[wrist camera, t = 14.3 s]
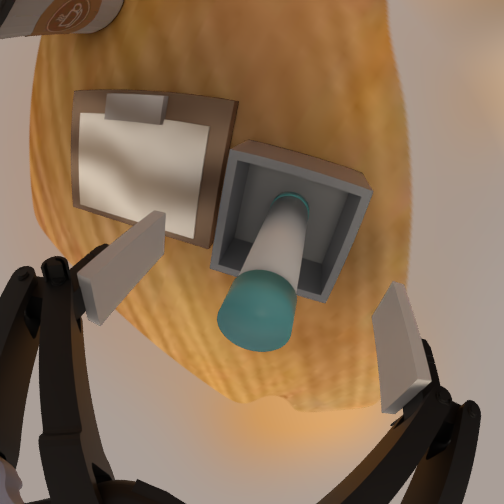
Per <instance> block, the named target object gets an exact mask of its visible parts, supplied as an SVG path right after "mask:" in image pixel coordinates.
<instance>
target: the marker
mask: <svg viewBox="0 0 504 504" xmlns="http://www.w3.org/2000/svg"><path fill="white" fill-rule="evenodd" d="M308 218H309V205H308V203H307V201H306V200H305V198H304V197H302V196H301V195H300V194H298V193H295V192H284V193H281V194H279V195H278V196H277V197H276V198H275V199H274V200H273V202H272V204H271V207H270V210H269V212H268V214H267V216H266V218H265V221H264V223H263V225H262V227H261V229H260V231H259V233H258V235H257V237H256V240H255V242H254V244H253V246H252V248H251V250H250V252H249V254H248V256H247V259H246V261H245V263H244V265H243V267H242V269H241V271H240V273H239V275H238V277H237V278H236V279H235V280H234V281H233V283H232V285H231V287H230V289H229V291H228V294H227V296H226V298H225V300H224V302H223V304H222V306H221V308H220V310H219V312H218V316H217V322H218V326H219V328H220V330H221V332H222V333H223V334H224V336H225V337H226V338H227V339H229V340H230V341H231V342H233V343H234V344H236V345H238V346H240V347H242V348H244V349H248V350H251V351H258V352H266V351H273V350H276V349H278V348H281V347H282V346H284V345H285V344H286V343H287V342H288V340H289V339H290V336H291V332H292V326H293V321H294V315H295V309H296V303H297V296H296V291H297V286H298V280H299V274H300V267H301V261H302V255H303V248H304V242H305V235H306V228H307V221H308Z"/></svg>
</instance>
